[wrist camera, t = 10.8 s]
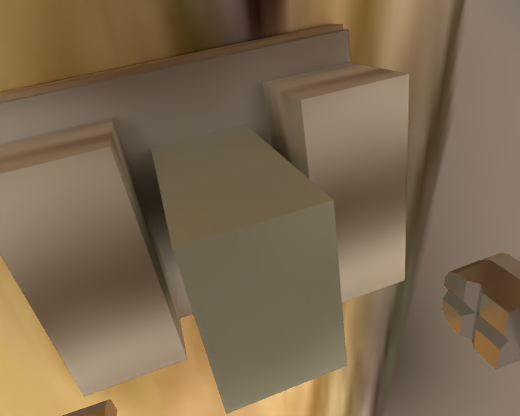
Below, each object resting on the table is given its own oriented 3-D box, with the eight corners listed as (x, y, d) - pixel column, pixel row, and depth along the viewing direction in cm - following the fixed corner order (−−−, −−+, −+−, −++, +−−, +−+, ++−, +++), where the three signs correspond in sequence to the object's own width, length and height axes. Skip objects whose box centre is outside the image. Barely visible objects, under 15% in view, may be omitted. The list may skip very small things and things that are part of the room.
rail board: (-9, 94, 14) (-73, 130, 10) (331, 24, 17) (410, 25, 12) (104, 326, 20) (98, 420, 15) (346, 246, 23) (403, 305, 18)
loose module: (150, 148, 16) (172, 249, 9) (245, 124, 16) (333, 199, 9) (189, 271, 19) (228, 418, 12) (267, 246, 19) (347, 370, 12)
